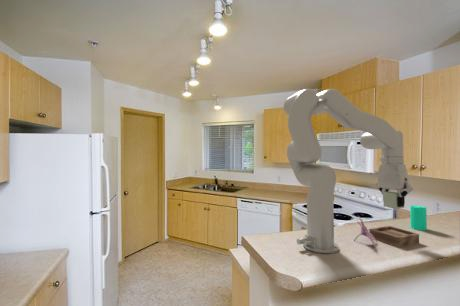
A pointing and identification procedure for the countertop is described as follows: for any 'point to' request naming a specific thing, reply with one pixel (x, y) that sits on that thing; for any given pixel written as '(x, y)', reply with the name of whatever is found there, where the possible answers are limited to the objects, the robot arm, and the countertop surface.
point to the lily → (365, 232)
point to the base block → (395, 236)
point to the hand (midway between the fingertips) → (393, 204)
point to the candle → (418, 217)
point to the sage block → (390, 199)
